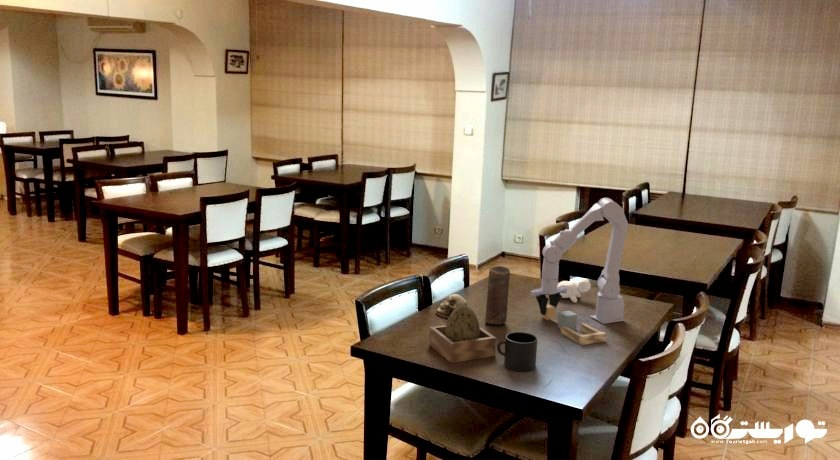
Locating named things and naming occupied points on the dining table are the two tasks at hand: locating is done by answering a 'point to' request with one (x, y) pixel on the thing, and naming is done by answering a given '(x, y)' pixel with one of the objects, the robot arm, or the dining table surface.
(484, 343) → the square wooden tray
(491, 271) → the candle
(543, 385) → the dining table surface
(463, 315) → the decorative egg
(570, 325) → the tethered block
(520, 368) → the mug
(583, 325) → the lane
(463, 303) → the skull
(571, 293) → the white animal figurine
